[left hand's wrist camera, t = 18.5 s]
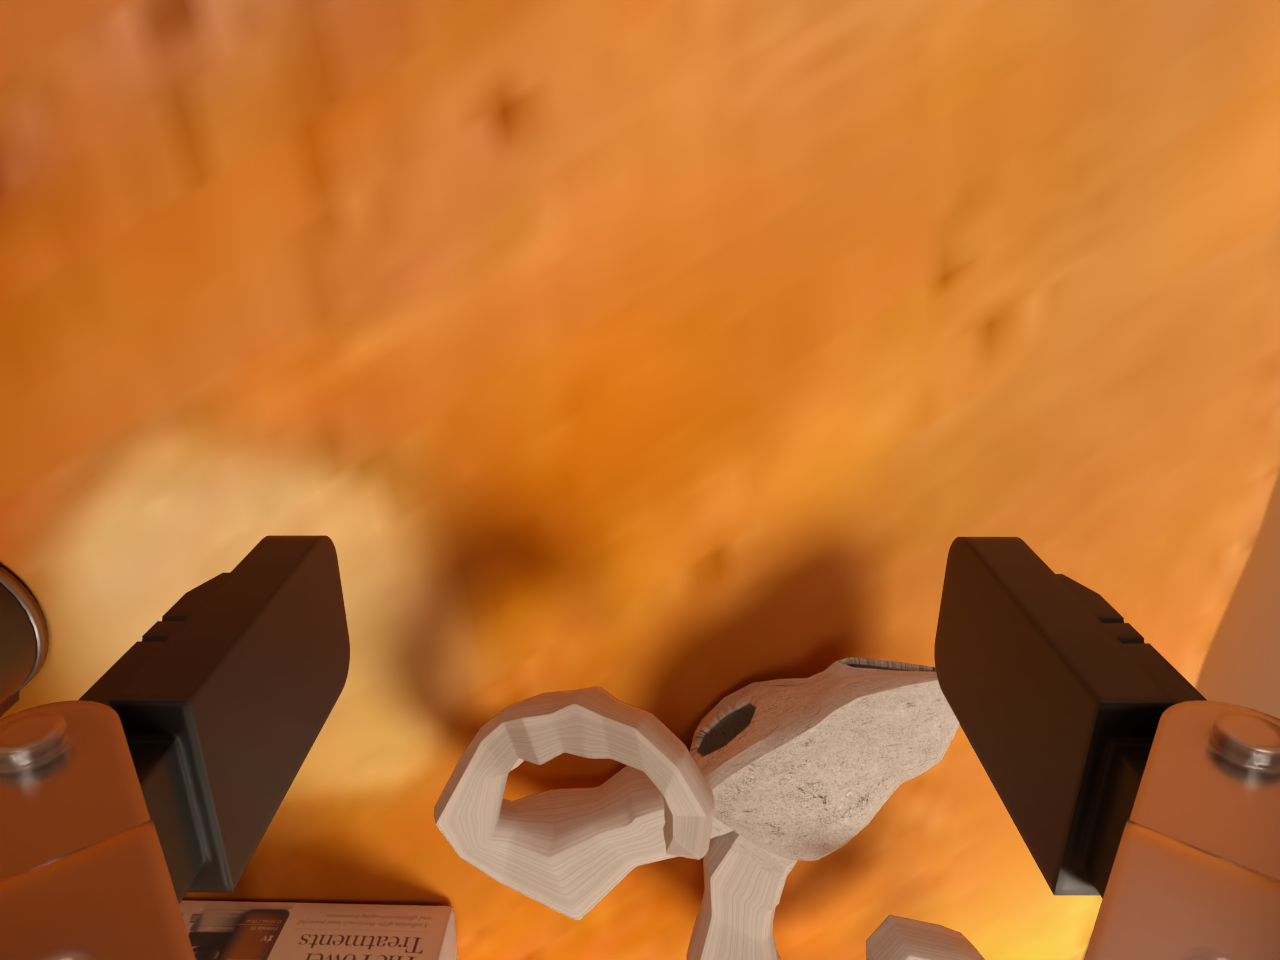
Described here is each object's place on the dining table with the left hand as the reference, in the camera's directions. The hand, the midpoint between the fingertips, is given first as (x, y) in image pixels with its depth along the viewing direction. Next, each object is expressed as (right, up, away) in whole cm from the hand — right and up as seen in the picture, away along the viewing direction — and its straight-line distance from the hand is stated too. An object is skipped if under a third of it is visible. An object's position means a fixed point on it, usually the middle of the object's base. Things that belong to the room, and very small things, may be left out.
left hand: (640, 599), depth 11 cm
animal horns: (+7, -14, +38) cm, 42 cm away
